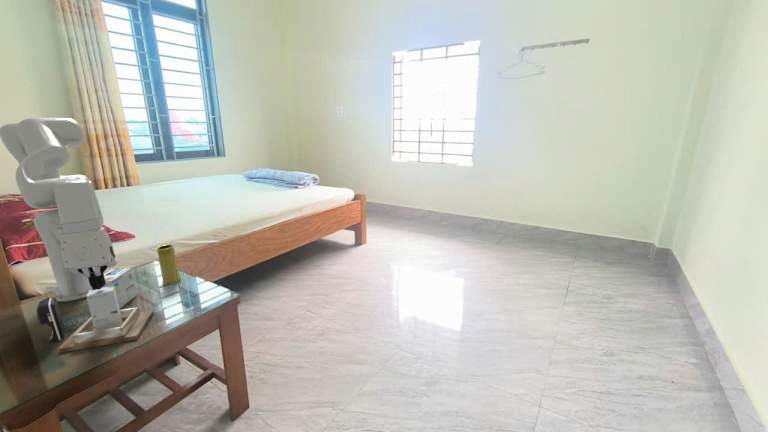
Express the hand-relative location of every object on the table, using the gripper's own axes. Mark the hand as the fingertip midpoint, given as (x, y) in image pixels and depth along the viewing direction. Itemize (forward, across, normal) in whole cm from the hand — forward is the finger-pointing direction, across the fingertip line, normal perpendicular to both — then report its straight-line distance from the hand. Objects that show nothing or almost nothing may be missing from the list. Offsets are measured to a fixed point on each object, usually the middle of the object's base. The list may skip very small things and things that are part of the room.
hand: (99, 287), depth 95 cm
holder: (+14, 0, 0) cm, 14 cm away
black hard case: (+14, -14, +2) cm, 20 cm away
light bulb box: (+14, -5, +19) cm, 25 cm away
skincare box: (+13, 0, 0) cm, 13 cm away
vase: (+14, +8, +32) cm, 36 cm away
